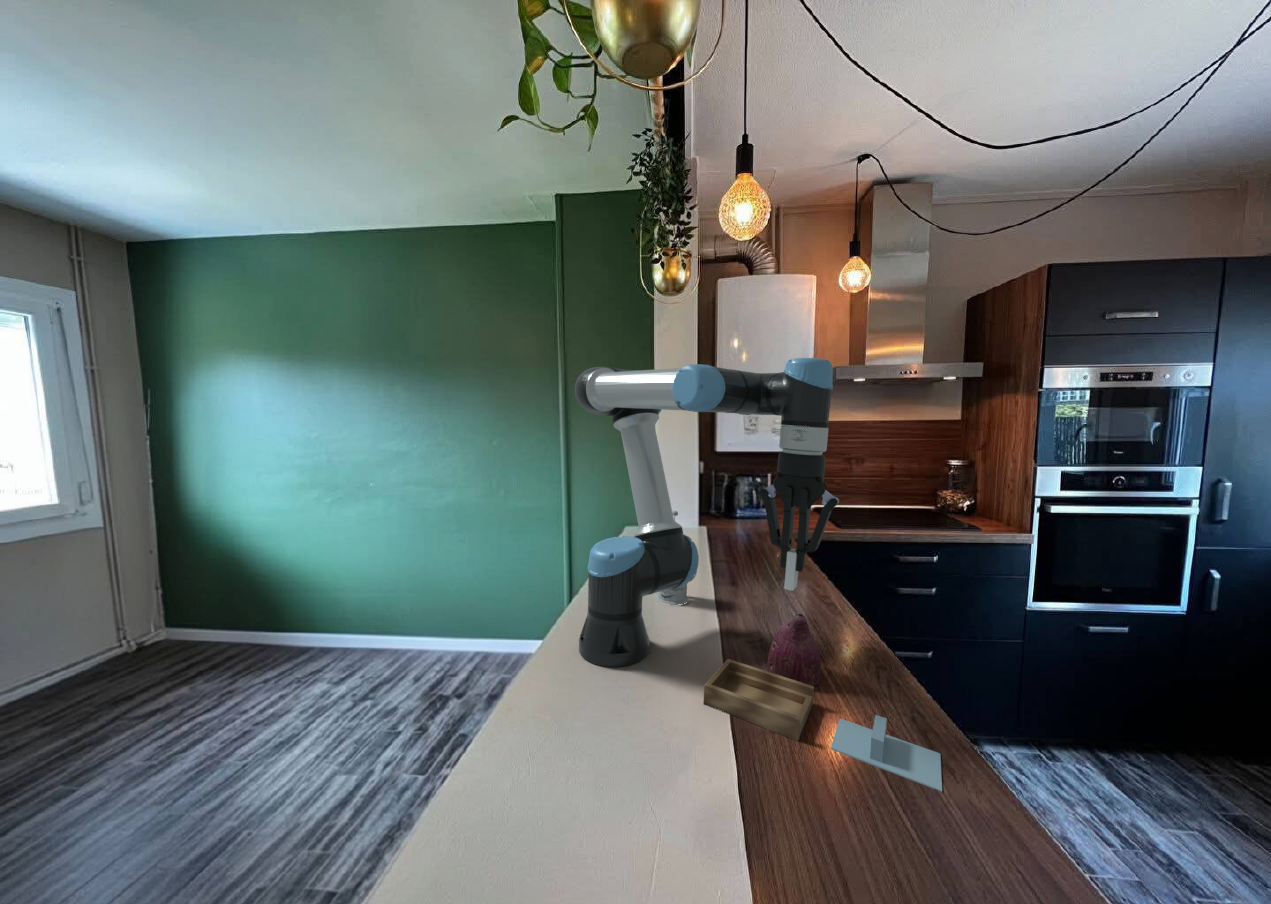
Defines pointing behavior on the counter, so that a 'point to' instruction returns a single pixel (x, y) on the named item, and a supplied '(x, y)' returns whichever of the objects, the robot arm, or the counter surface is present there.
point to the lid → (888, 752)
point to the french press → (674, 591)
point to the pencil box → (760, 698)
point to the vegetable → (795, 652)
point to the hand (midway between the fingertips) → (790, 587)
